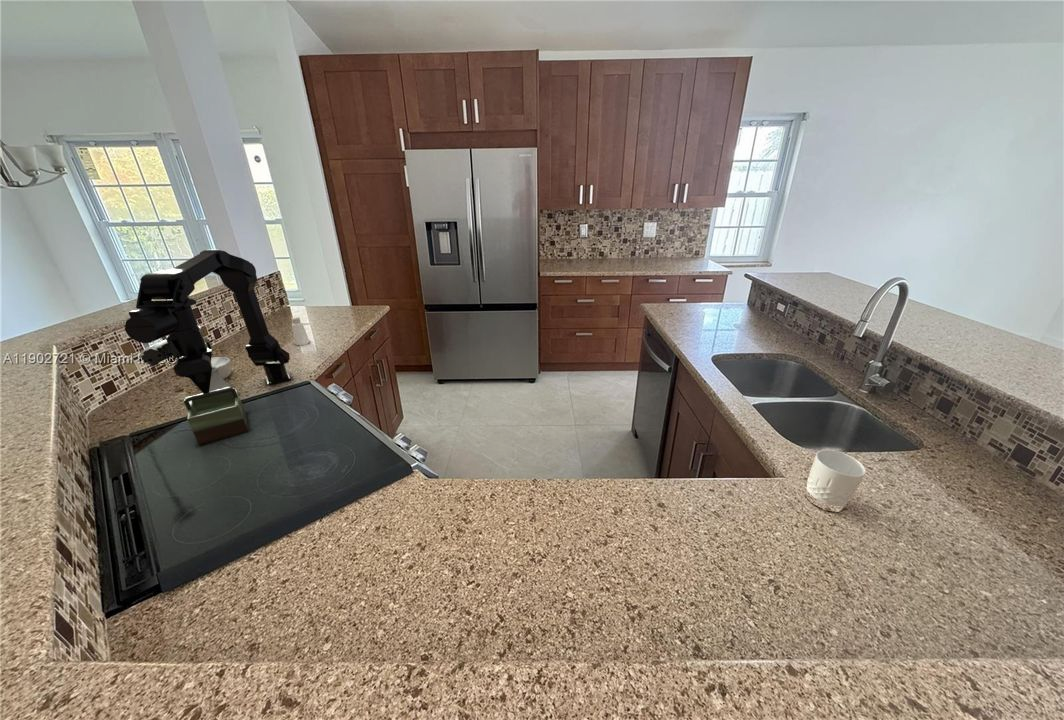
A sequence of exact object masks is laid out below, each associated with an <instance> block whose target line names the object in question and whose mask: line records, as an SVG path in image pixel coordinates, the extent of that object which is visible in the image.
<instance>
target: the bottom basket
mask: <svg viewBox="0 0 1064 720" xmlns="http://www.w3.org/2000/svg"><path fill="white" fill-rule="evenodd" d="M241 404H242V412H243V419H240V420H237V421H233V422H230V423H226V424H223V425H219V426H215V427H212V428H208V429H205V430H201V431H198V432H194V433H193V435H194V437H195V439H196V442H197V443H198V446H199V447H201V446H204V445H208V444H211V443H214V442H218V441H221V440H225V439H227V438H231V437H234V436H238V435H241V434H245V433H247V432H249V427H248V419H247V413H246V411H245V408H244V405H243V403H242V401H241Z"/></svg>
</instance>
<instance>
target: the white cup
mask: <svg viewBox="0 0 1064 720" xmlns="http://www.w3.org/2000/svg"><path fill="white" fill-rule="evenodd" d="M866 474H867V469H866V467H865V465H864V464H863V463H861V461H859V460H858V459H856V458H854V457H853V456H850V455H849V454H846V453H844V452H841V451H838V450H832V449H819V450H818V451H816V453H815V456H814V459H813V461H812V465H811V468H810V471H809V474H808V478H807V480H806V485H807V487H806V486H805V488H806V489H807V491H808V492H809V493H810V495H812V496H813V497H814V498H816V499H817V500H819V501H821V502H823V503H825V504H829V505H833V506H844V505H846V504H847V505H848V503H849V502H850V501H851V500H852V498H853V496H854V494H855V493H856V491H857V490H858V487H859V486H860V484H861V482H862V481H863V479H864V477H865V476H866ZM847 505H846V506H847Z"/></svg>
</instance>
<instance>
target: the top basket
mask: <svg viewBox="0 0 1064 720" xmlns="http://www.w3.org/2000/svg"><path fill="white" fill-rule="evenodd" d="M241 402H242V400H241V397H240V394H239V392H238V389H237V388H235V387H233V386H230V387H228V388H223V389H219V390H215V391H211V392H209V393H205V394H203V393H202V392H201V393H198V394H194V395H191V396H186V397H184V399H183V403H184V405H185V407H186V410H187V417H186V420H187V422H188V425H189V426H190V428H191V430H192V433H193V434H194V432H198V431H201V430H205V429H208V428H212V427H215V426H219V425H223V424H226V423H230V422H233V421H237V420H240V419H243V412H242V405H243V403H242V404H241Z"/></svg>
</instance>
